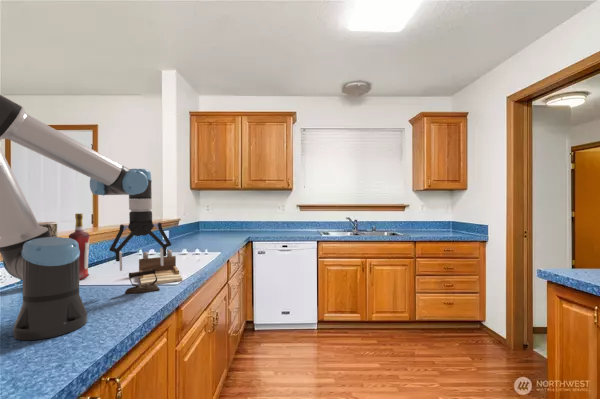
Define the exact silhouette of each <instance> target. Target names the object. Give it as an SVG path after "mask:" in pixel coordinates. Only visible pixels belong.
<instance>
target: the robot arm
mask: <svg viewBox="0 0 600 399" xmlns="http://www.w3.org/2000/svg"><path fill="white" fill-rule="evenodd" d="M1 140H9V141H11V142H12V143H13V142H14V144H15V143H16V144H17V145H20V146H22V147H24V148H26V149H28V150H31V151H32V152H35V153H37V154H39V155H41V156H43V157H46V158H48V159H50V160H52V161H54V162H56V163H59V164H61V165H62V166H65V167H67V168H69V169H71V170H73V171H76V172H78V173H79V174H82V175H84V176H86V177H88V178H90V179H89V188H90V191H91V193H92V194H93V195H95V196H103V197H104V196H121V195H122V196H127V195H128V210H129V214H128V215H129V217H128V218H129V220H128V222H129V224H127V225H126V224H120V225H119V230H118V233H117V234H116V235H115V238H114V240H113V242H112V244H111V245H110V247H109V252H113V253H115V261H116V262H119V271H120V272H122V271H123V252H122V251H121V250H122V249H123V248H124V247H125V246H126V245H127V244H128V242H130V240H132V238H133V237H134V236H135V237H141V236H148V235H149V236H150V237H151V238H153V239H154V240H155V241H156V243H158V245H160V246H161V247H160V248H159V252H160V254H159V257H160V259H161V266H164V264H163V257H167V248H169V247H171V246H172V243H171V242H170V240H169V238H168V236H167V234H166V233H165V231H164V228H163V225H162V223H161V222H160V221H159V222H156V223H153V211H152V209H153V203H152V202H153V200H152V194H153V193H152V183H153V182H152V174H151V172H152V171H150V170H149V169H146V168H128V167H126V166H125V165H122V164H120V163H118V162H116V161H114V160H113V159H111V158H109V157H108V156H105V155H103V154H101V153H100V152H98V151H96V150H95V149H92V148H90V147H89V146H87V145H85V144H84V143H81V142H79V141H78V140H76V139H74V138H72V137H70V136H68V135H67V134H64V133H63V132H61V131H59V130H57V129H55V128H53V127H51V126H49V125H48V124H46V123H45V122H42V121H41V120H39V119H37V118H35V117H33V116H31V115H29V114H28V113H26V111H25V108H24V107H23V106H21V104H18V103H16V102H15V101H13V100H11V99H9V98H7V97H6V96H4V95H1V94H0V142H1ZM8 162H9V161H8V160H7V159H6V157H5V154H4V152H3V150H2V148H1V147H0V255H1V257H2V263H3V267H4V269H5V270H6V272H7V273H8V274H9V275H10V276H12V277H14V279H18V280H20V281H22V305H21V307H20V310H19V312H18V315H17V318H16V321H15V323H14V325H13V338H14V339H16V340H20V341H36V340H43V339H50V338H54V337H59V336H62V335H65V333H66V334H68V332H69V333H71V332H73V331H76V330H78V329H80V328H82V327H84V326H85V325H86V324H87V322H88V312H87V309H86V308H85V305H84V303H83V300H82V298H81V294H80V280H79V256H80V250H79V245H78V242H77V241H76V240H74V239H71V238H69V237H62V236H57V237H52V236H51V234H50V232H49V230H48V228H46V227H43V226H40V225H39V224H38V223H39V222H38V221H37V219H36V216H35V215H34V212H33V210H32V208H31V207H30V205H29V202H28V200H27V199H26V197H25V194H24V192H23V191H22V188H21V187H20V185H19V182H18V181H17V179H16V176H15V175H14V173H13V170H12V168H11V166H10V164H9V163H8ZM154 227H155V228H156V229H158V231H159V233H160V235H161V236H162V238H163V240H164V241H165V243H164V242H163V241H162V240H161V239H160V238H159V237H158V236H157V235H156V234H155V233H153V231H152V230H153V229H154ZM127 229H128V230H129V231H130V233H129V234H128V235H127V236H126V237H125V239H124V240H123V241H122V242H121V243H120V244H119V245H118V246H117V244H118V243H119V240H120V238H121V237H122V235H123V233H124V232H125V231H126V230H127ZM116 246H117V247H116Z"/></svg>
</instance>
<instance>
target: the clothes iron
mask: <svg viewBox="0 0 600 399" xmlns="http://www.w3.org/2000/svg"><path fill="white" fill-rule="evenodd" d="M149 274H155V268H153V269H150V270H145V271H139V270H138V271H136V272H135V271H134V272H128V278H129V281H130V284H131V286H132V287H129V288H127V289H126V290H125V291H124V294H125V295H134V294H135V295H136V294H138V295H139V294H146V293H153V292H158V291H160V290H161V289H160V287H158V284H154V283H156V282H157V277H156V274H155V277H156V280H155V281H154V282H152V283H148V284H143V285H141V284H138V283H133V282H132V278H138V277H139V276H143V275H149Z"/></svg>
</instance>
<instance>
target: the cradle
mask: <svg viewBox="0 0 600 399" xmlns="http://www.w3.org/2000/svg"><path fill="white" fill-rule="evenodd" d="M172 251H173V250H172V249H166V256H164V257H163V264H164V266H161V259H160V256H158V257H149V252H148V251H143V252H142V258H139V259H138V272H139V271H145V270H150V269H153V268H155V274H156V277H157V282H156V283H154V284H156V285H161V284H167V283H168V284H169V283H175V282H174V281H177V282H183V277H182V276H181V274H180V270H179V268H178V267H177V266H176V265H177V264H176V258H177V257H176V255H173V254H172V253H173V252H172ZM155 274H149V275H143V276H138V277H139V280H140V281H139V282H140V285H143V284H148V283H152V282H154V281H155V280H156V277H155Z"/></svg>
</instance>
